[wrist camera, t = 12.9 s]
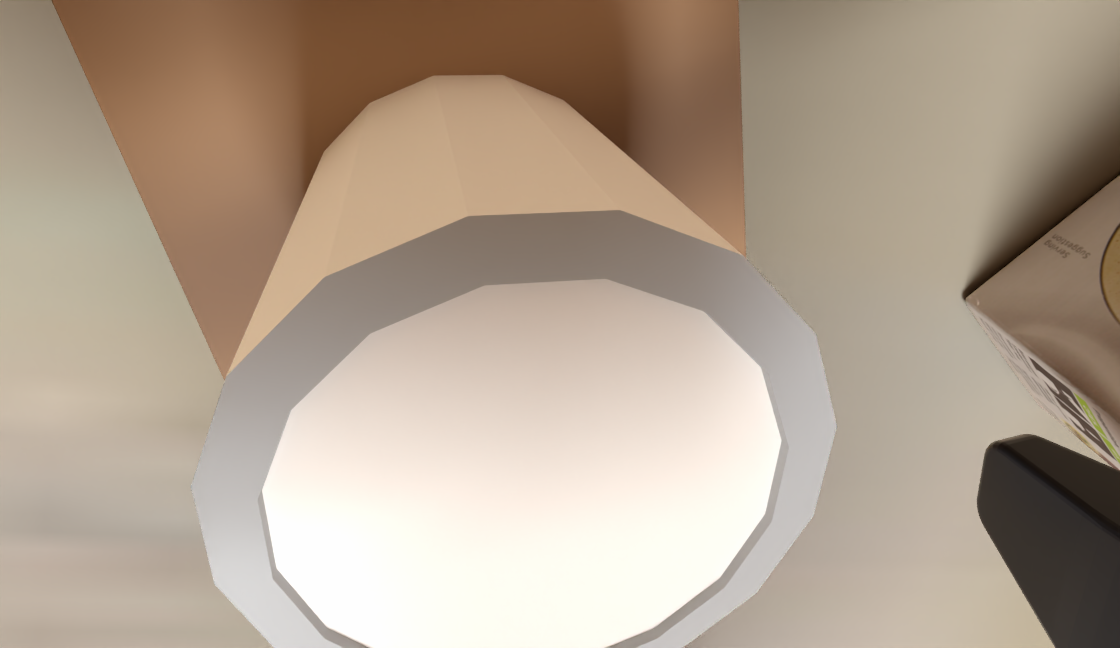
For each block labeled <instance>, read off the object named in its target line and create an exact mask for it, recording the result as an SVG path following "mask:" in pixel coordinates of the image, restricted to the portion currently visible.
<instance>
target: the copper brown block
mask: <svg viewBox="0 0 1120 648" xmlns="http://www.w3.org/2000/svg"><path fill="white" fill-rule="evenodd" d="M52 2H53V4H54V7H55V9H56V11H57V13H58V15H59V18H60V20H61V22H62V24H63V26H64V29H65V31H66V33H67V35H68V37H69V40H70V42H71V44H72V46H73V48H74V51H75V53H76V55H77V57H78V59H79V62H80V64H81V66H82V68H83V70H84V73H85V75H86V77H87V79H88V81H89V84H90V86H91V88H92V90H93V92H94V95H95V97H96V99H97V101H98V103H99V106H100V108H101V110H102V112H103V114H104V117H105V119H106V121H107V123H108V125H109V128H110V130H111V132H112V134H113V136H114V139H115V141H116V143H117V145H118V147H119V150H120V152H121V154H122V156H123V158H124V161H125V163H126V165H127V167H128V169H129V172H130V174H131V176H132V178H133V180H134V183H135V185H136V187H137V189H138V191H139V194H140V196H141V198H142V200H143V202H144V205H145V207H146V209H147V211H148V213H149V216H150V218H151V220H152V222H153V224H154V227H155V229H156V231H157V233H158V235H159V238H160V240H161V242H162V244H163V246H164V249H165V251H166V253H167V255H168V257H169V260H170V262H171V264H172V266H173V268H174V271H175V273H176V275H177V277H178V279H179V282H180V284H181V286H182V288H183V290H184V293H185V295H186V297H187V299H188V301H189V304H190V306H191V308H192V310H193V312H194V315H195V317H196V319H197V321H198V323H199V326H200V328H201V330H202V332H203V334H204V337H205V339H206V341H207V343H208V345H209V348H210V350H211V352H212V354H213V356H214V359H215V361H216V363H217V365H218V367H219V370H220V372H221V374H222V376H223V378H224V381H225V378H226V375H227V373H228V371H229V369H230V366H231V364H232V362H233V359H234V357H235V355H236V352H237V350H238V348H239V346H240V343H241V341H242V339H243V336H244V334H245V332H246V330H247V327H248V325H249V323H250V320H251V318H252V316H253V313H254V311H255V309H256V307H257V304H258V302H259V300H260V297H261V295H262V293H263V290H264V288H265V286H266V284H267V281H268V279H269V277H270V274H271V272H272V270H273V267H274V265H275V263H276V261H277V258H278V256H279V254H280V251H281V249H282V247H283V244H284V242H285V240H286V238H287V235H288V233H289V231H290V228H291V226H292V224H293V221H294V219H295V217H296V215H297V212H298V210H299V208H300V205H301V203H302V201H303V198H304V196H305V194H306V192H307V189H308V187H309V185H310V182H311V180H312V178H313V175H314V173H315V171H316V169H317V166H318V164H319V162H320V159H321V157H322V155H323V152H324V151H325V150H326V149H327V148H328V147H329V146H330V144H331V143H332V142H333V141H334V140H335V139H336V138H337V137H338V136H339V135H340V134H341V133H342V132H343V131H344V130H345V129H346V127H347V126H348V125H349V124H350V123H351V122H352V121H353V120H354V119H355V118H356V117H357V116H358V115H359V114H360V113H361V112H362V110H363V109H364V108H365V107H366V106H367V105H368V104H369V103H371V102H373V101H375V100H378V99H380V98H382V97H385V96H387V95H389V94H392V93H394V92H396V91H399V90H401V89H403V88H406V87H408V86H410V85H413V84H415V83H417V82H420V81H422V80H424V79H426V78H429V77H431V76H438V75H504V76H506V77H509V78H511V79H514V80H516V81H518V82H521V83H523V84H526V85H528V86H531V87H533V88H535V89H538V90H540V91H543V92H545V93H548V94H550V95H552V96H555V97H557V98H560V99H562V100H564V101H565V102H566V103H567V104H569V105H570V106H571V107H572V108H573V109H574V110H576V111H577V112H578V113H579V114H580V115H581V116H582V117H584V118H585V119H586V120H587V121H588V122H589V123H591V124H592V125H593V126H594V127H595V128H596V129H598V130H599V131H600V132H601V133H602V134H603V135H604V136H606V137H607V138H608V139H609V140H610V141H611V142H613V143H614V144H615V145H616V146H617V147H618V148H619V149H621V150H622V151H623V152H624V153H625V154H626V155H628V156H629V157H630V158H631V159H632V160H633V161H635V162H636V163H637V164H638V165H639V166H640V167H641V168H643V169H644V170H645V171H646V172H647V173H648V174H650V175H651V176H652V177H653V178H654V179H655V180H656V181H658V182H659V183H660V184H661V185H662V186H663V187H665V188H666V189H667V190H668V191H669V192H670V193H672V194H673V195H674V196H675V197H676V198H677V199H678V200H680V201H681V202H682V203H683V204H684V205H685V206H687V207H688V208H689V209H690V210H691V211H692V212H694V213H695V214H696V215H697V216H698V217H699V218H700V219H702V220H703V221H704V222H705V223H706V224H707V225H709V226H710V227H711V228H712V229H713V230H714V231H715V232H717V233H718V234H719V235H720V236H721V237H722V238H724V239H725V240H726V241H727V242H728V243H729V244H731V245H732V246H733V247H734V248H735V249H736V250H737V251H739V252H740V253H741V254H742V255H743V256H744V257H745V258H746V242H745V209H744V175H743V142H742V108H741V74H740V41H739V8H738V0H52Z"/></svg>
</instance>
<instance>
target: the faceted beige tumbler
mask: <svg viewBox="0 0 1120 648" xmlns="http://www.w3.org/2000/svg"><path fill="white" fill-rule="evenodd" d="M836 429H837V424H836V420H835V415H834V411H833V406H832V402H831V397H830V393H829V388H828V384H827V380H826V375H825V371H824V366H823V362H822V357H821V353H820V348H819V344H818V340H817V335H816V334H815V332H814V331H813V330H812V329H811V328H810V327H809V326H808V325H807V324H806V323H805V322H804V321H803V320H802V318H801V317H800V316H799V315H798V314H797V313H796V312H795V311H794V310H793V309H792V308H791V307H790V305H789V304H788V303H787V302H786V301H785V300H784V299H783V298H782V297H781V296H780V295H779V294H778V293H777V291H776V290H775V289H774V288H773V287H772V286H771V285H770V284H769V283H768V282H767V281H766V280H765V278H764V277H763V276H762V275H761V274H760V273H759V272H758V271H757V270H756V269H755V268H754V267H753V266H752V264H751V263H750V262H749V261H748V260H747V259H746V258H745V257H744V256H743V255H742V254H741V253H740V252H739V251H737V250H736V249H735V248H734V247H733V246H732V245H731V244H729V243H728V242H727V241H726V240H725V239H724V238H722V237H721V236H720V235H719V234H718V233H717V232H715V231H714V230H713V229H712V228H711V227H710V226H709V225H707V224H706V223H705V222H704V221H703V220H702V219H700V218H699V217H698V216H697V215H696V214H695V213H694V212H692V211H691V210H690V209H689V208H688V207H687V206H685V205H684V204H683V203H682V202H681V201H680V200H678V199H677V198H676V197H675V196H674V195H673V194H672V193H670V192H669V191H668V190H667V189H666V188H665V187H663V186H662V185H661V184H660V183H659V182H658V181H656V180H655V179H654V178H653V177H652V176H651V175H650V174H648V173H647V172H646V171H645V170H644V169H643V168H641V167H640V166H639V165H638V164H637V163H636V162H635V161H633V160H632V159H631V158H630V157H629V156H628V155H626V154H625V153H624V152H623V151H622V150H621V149H619V148H618V147H617V146H616V145H615V144H614V143H613V142H611V141H610V140H609V139H608V138H607V137H606V136H604V135H603V134H602V133H601V132H600V131H599V130H598V129H596V128H595V127H594V126H593V125H592V124H591V123H589V122H588V121H587V120H586V119H585V118H584V117H582V116H581V115H580V114H579V113H578V112H577V111H576V110H574V109H573V108H572V107H571V106H570V105H569V104H567V103H566V102H565V101H564V100H562V99H560V98H557V97H555V96H552V95H550V94H548V93H545V92H543V91H540V90H538V89H535V88H533V87H531V86H528V85H526V84H523V83H521V82H518V81H516V80H514V79H511V78H509V77H506V76H504V75H438V76H431V77H429V78H426V79H424V80H422V81H420V82H417V83H415V84H413V85H410V86H408V87H406V88H403V89H401V90H399V91H396V92H394V93H392V94H389V95H387V96H385V97H382V98H380V99H378V100H375V101H373V102H371V103H369V104H368V105H367V106H366V107H365V108H364V109H363V110H362V112H361V113H360V114H359V115H358V116H357V117H356V118H355V119H354V120H353V121H352V122H351V123H350V124H349V125H348V126H347V127H346V129H345V130H344V131H343V132H342V133H341V134H340V135H339V136H338V137H337V138H336V139H335V140H334V141H333V142H332V143H331V144H330V146H329V147H328V148H327V149H326V150H325V151H324V152H323V155H322V157H321V159H320V162H319V164H318V166H317V169H316V171H315V173H314V175H313V178H312V180H311V182H310V185H309V187H308V189H307V192H306V194H305V196H304V198H303V201H302V203H301V205H300V208H299V210H298V212H297V215H296V217H295V219H294V221H293V224H292V226H291V228H290V231H289V233H288V235H287V238H286V240H285V242H284V244H283V247H282V249H281V251H280V254H279V256H278V258H277V261H276V263H275V265H274V267H273V270H272V272H271V274H270V277H269V279H268V281H267V284H266V286H265V288H264V290H263V293H262V295H261V297H260V300H259V302H258V304H257V307H256V309H255V311H254V313H253V316H252V318H251V320H250V323H249V325H248V327H247V330H246V332H245V334H244V336H243V339H242V341H241V343H240V346H239V348H238V350H237V352H236V355H235V357H234V359H233V362H232V364H231V366H230V369H229V371H228V373H227V375H226V378H225V381H224V385H223V388H222V391H221V394H220V397H219V400H218V403H217V406H216V410H215V413H214V416H213V419H212V422H211V425H210V428H209V431H208V435H207V438H206V441H205V444H204V447H203V450H202V453H201V456H200V460H199V463H198V466H197V469H196V472H195V475H194V478H193V481H192V485H191V490H192V494H193V498H194V502H195V506H196V510H197V514H198V519H199V523H200V527H201V531H202V535H203V539H204V543H205V547H206V551H207V556H208V560H209V564H210V568H211V572H212V576H213V580H214V584H215V585H216V586H217V588H218V589H219V590H220V591H221V592H222V593H223V594H224V595H225V596H226V597H227V598H228V599H229V600H230V601H231V602H232V604H233V605H234V606H235V607H236V608H237V609H238V610H239V611H240V612H241V613H242V614H243V615H244V616H245V617H246V618H247V620H248V621H249V622H250V623H251V624H252V625H253V626H254V627H255V628H256V629H257V630H258V631H259V632H260V633H261V634H262V636H263V637H264V638H265V639H266V640H267V641H268V642H269V643H270V644H271V645H272V646H273V647H274V648H683V647H685V646H686V645H687V644H689V643H690V642H691V641H693V640H694V639H696V638H697V637H698V636H700V635H701V634H702V633H704V632H705V631H706V630H708V629H709V628H710V627H712V626H713V625H714V624H716V623H717V622H718V621H720V620H721V619H722V618H724V617H725V616H727V615H728V614H729V613H731V612H732V611H733V610H735V609H736V608H737V607H739V606H740V605H741V604H743V603H744V602H745V601H747V600H748V599H749V598H751V597H752V596H754V595H755V594H756V593H757V592H758V590H759V589H760V588H761V586H762V585H763V584H764V582H765V581H766V580H767V578H768V577H769V575H770V574H771V573H772V571H773V570H774V569H775V567H776V566H777V565H778V563H779V562H780V561H781V559H782V558H783V557H784V555H785V554H786V552H787V551H788V550H789V548H790V547H791V546H792V544H793V543H794V542H795V540H796V539H797V538H798V536H799V535H800V534H801V532H802V531H803V529H804V528H805V527H806V525H807V524H808V523H809V521H810V520H811V519H812V517H813V516H814V512H815V508H816V504H817V500H818V497H819V493H820V489H821V485H822V482H823V478H824V474H825V470H826V467H827V463H828V459H829V455H830V451H831V448H832V444H833V440H834V436H835V433H836Z"/></svg>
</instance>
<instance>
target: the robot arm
mask: <svg viewBox="0 0 1120 648" xmlns="http://www.w3.org/2000/svg"><path fill="white" fill-rule="evenodd" d="M977 508H978V513H979V516H980V519H981V521H982V523H983V525H984V527H985V529H986V531H987V532H988V534H989V536H990V538H991V539H992V541H993V543H994V544H995V546H996V548H997V550H998V551H999V553H1000V555H1001V556H1002V558H1003V560H1004V561H1005V563H1006V565H1007V567H1008V568H1009V570H1010V572H1011V573H1012V575H1013V577H1014V579H1015V580H1016V582H1017V584H1018V585H1019V587H1020V589H1021V590H1022V592H1023V594H1024V596H1025V597H1026V599H1027V601H1028V602H1029V604H1030V606H1031V608H1032V609H1033V611H1034V613H1035V614H1036V616H1037V618H1038V619H1039V621H1040V623H1041V625H1042V626H1043V628H1044V630H1045V631H1046V633H1047V635H1048V637H1049V638H1050V640H1051V641H1052V643H1053V645H1054V646H1055V648H1120V471H1119V470H1117V469H1114V468H1112V467H1110V466H1107V465H1105V464H1103V463H1100V462H1098V461H1096V460H1093V459H1091V458H1089V457H1086V456H1084V455H1081V454H1079V453H1077V452H1074V451H1072V450H1070V449H1067V448H1065V447H1063V446H1060V445H1058V444H1056V443H1053V442H1051V441H1049V440H1046V439H1044V438H1042V437H1039V436H1036V435H1032V434H1023V435H1018V436H1014V437H1010V438H1006V439H1002V440H998V441H995V442H993V443H991V444H990V445H989V446H988V448H987V449H986V451H985V455H984V461H983V467H982V473H981V478H980V484H979V490H978V496H977Z"/></svg>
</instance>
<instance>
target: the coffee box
mask: <svg viewBox="0 0 1120 648" xmlns="http://www.w3.org/2000/svg"><path fill="white" fill-rule="evenodd" d="M966 305H967V307H968V308H969V310H970V311H971V313H972V314H973V315H974V317H975V318H976V320H977V321H978V323H979V324H980V326H981V327H982V328H983V330H984V331H985V332H986V334H987V335H988V337H989V338H990V339H991V341H992V342H993V344H994V345H995V347H996V348H997V349H998V351H999V352H1000V354H1001V355H1002V356H1003V358H1004V359H1005V360H1006V362H1007V363H1008V365H1009V366H1010V367H1011V369H1012V370H1013V372H1014V373H1015V374H1016V376H1017V377H1018V379H1019V380H1020V381H1021V383H1022V384H1023V385H1024V387H1025V388H1026V389H1027V391H1028V392H1029V393H1030V394H1031V396H1032V397H1033V398H1034V400H1035V401H1036V402H1037V403H1038V405H1039V406H1040V407H1041V408H1042V409H1044V410H1045V411H1046V412H1048V413H1049V414H1050V415H1051V416H1053V417H1054V418H1055V419H1056V420H1058V421H1059V422H1060V423H1061V424H1062V425H1063V426H1064V427H1066V428H1067V429H1068V430H1069V431H1071V432H1072V433H1073V434H1074V435H1075V436H1077V437H1078V438H1079V439H1080V440H1081V441H1082V442H1084V443H1085V444H1086V445H1087V446H1088V447H1089V448H1090V449H1092V450H1093V451H1094V452H1095V453H1096V454H1098V455H1099V456H1100V457H1101V458H1102V459H1104V460H1105V461H1106V462H1107V463H1108V464H1109V465H1111V466H1112V467H1113V468H1114V469H1117V470H1119V471H1120V175H1119V176H1118V177H1117V178H1115V179H1114V180H1113V181H1111V182H1110V183H1109V184H1108V185H1106V186H1105V187H1104V188H1103V189H1101V190H1100V191H1099V192H1098V193H1096V194H1095V195H1094V196H1093V197H1091V198H1090V199H1089V200H1088V201H1086V202H1085V203H1084V204H1083V205H1081V206H1080V207H1079V208H1078V209H1076V210H1075V211H1074V212H1073V213H1071V214H1070V215H1069V216H1068V217H1067V218H1065V219H1064V220H1063V221H1062V222H1060V223H1059V224H1058V225H1057V226H1055V227H1054V228H1053V229H1052V230H1050V231H1049V232H1048V233H1047V234H1045V235H1044V236H1043V237H1042V238H1040V239H1039V240H1038V241H1037V242H1035V243H1034V244H1033V245H1032V246H1030V247H1029V248H1028V249H1027V250H1025V251H1024V252H1023V253H1022V254H1020V255H1019V256H1018V257H1017V258H1015V259H1014V260H1013V261H1012V262H1010V263H1009V264H1008V265H1007V266H1005V267H1004V268H1003V269H1002V270H1000V271H999V272H998V273H997V274H995V275H994V276H993V277H992V278H990V279H989V280H988V281H987V282H985V283H984V284H983V285H981V286H980V287H979V288H978V289H976V290H975V291H974V292H973V293H972V294H970V295H969V296H968V297H967V298H966Z"/></svg>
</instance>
